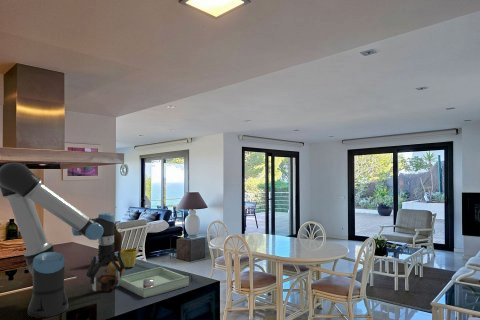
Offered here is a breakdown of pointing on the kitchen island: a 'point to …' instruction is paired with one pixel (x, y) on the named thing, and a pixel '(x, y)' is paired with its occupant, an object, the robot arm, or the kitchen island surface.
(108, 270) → the potato
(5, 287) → the kitchen island surface
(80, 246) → the kitchen island surface
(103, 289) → the pottery mug
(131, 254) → the plant pot
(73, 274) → the kitchen island surface
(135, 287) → the tray
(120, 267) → the robot arm
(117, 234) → the olive oil
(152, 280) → the tin
